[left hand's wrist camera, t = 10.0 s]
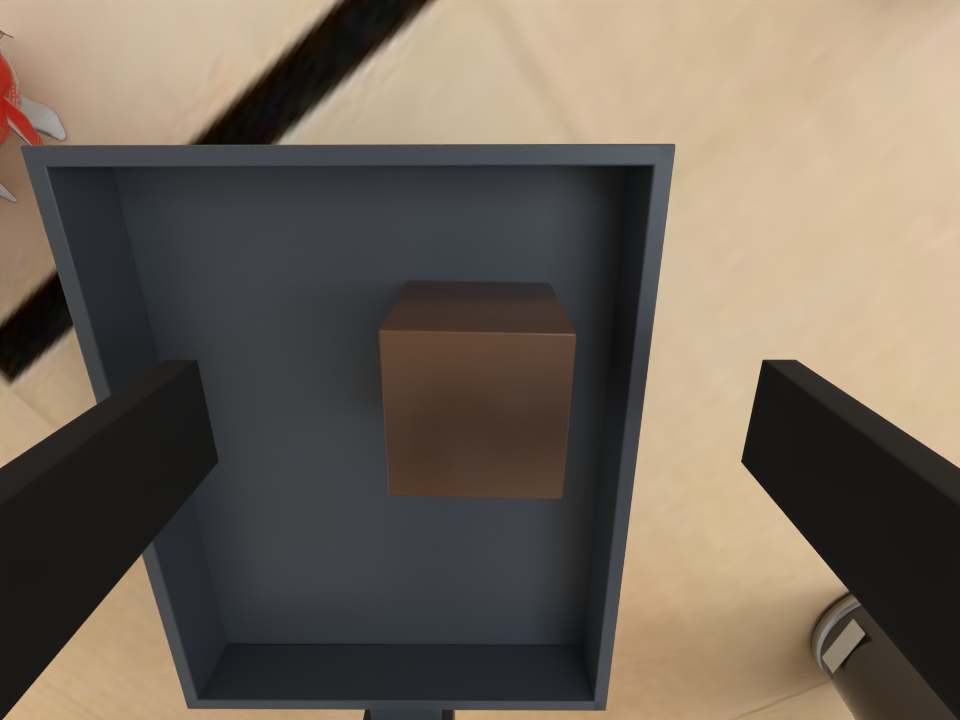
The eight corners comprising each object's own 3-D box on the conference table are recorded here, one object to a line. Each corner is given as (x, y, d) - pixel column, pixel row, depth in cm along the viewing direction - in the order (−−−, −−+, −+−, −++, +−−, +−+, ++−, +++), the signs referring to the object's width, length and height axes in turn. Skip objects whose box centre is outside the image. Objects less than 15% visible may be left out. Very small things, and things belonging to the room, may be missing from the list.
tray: (103, 146, 16) (-443, 139, 6) (641, 145, 16) (870, 136, 6) (243, 719, 25) (101, 1055, 16) (582, 720, 25) (641, 1060, 16)
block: (407, 280, 17) (377, 330, 12) (551, 282, 17) (576, 333, 12) (412, 408, 18) (387, 496, 14) (542, 410, 18) (562, 499, 14)
